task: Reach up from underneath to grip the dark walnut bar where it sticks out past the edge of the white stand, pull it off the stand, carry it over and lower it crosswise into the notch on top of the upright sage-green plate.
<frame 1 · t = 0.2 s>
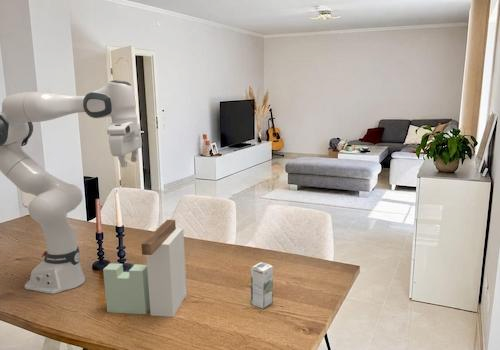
hand: (129, 164, 155), 49 cm above the table, tool pointing down, fingers open, 8 cm apart
walnut bar: (160, 240, 141), point 26 cm above the table, touching white stand
syrup box: (262, 304, 150), on the table
sage notched plate: (129, 309, 148), on the table
white stand: (169, 304, 151), on the table
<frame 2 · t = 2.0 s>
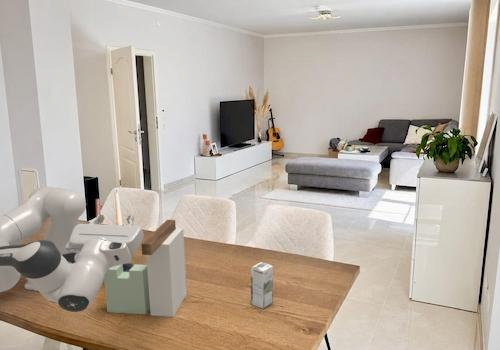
hand: (116, 216, 125), 39 cm above the table, tool pointing upward, fingers open, 8 cm apart
nothing on the table moved.
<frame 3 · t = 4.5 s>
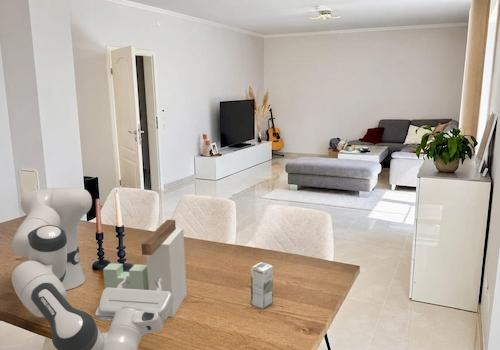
hand: (144, 277, 124), 22 cm above the table, tool pointing upward, fingers open, 8 cm apart
nothing on the table moved.
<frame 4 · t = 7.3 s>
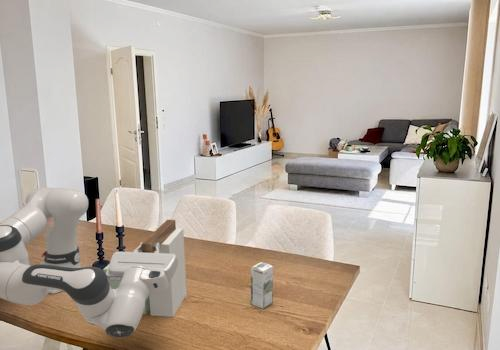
hand: (150, 243, 132), 28 cm above the table, tool pointing upward, fingers closed on walnut bar, 3 cm apart
walnut bar: (160, 240, 141), point 26 cm above the table, touching white stand, gripper
everything else where it was.
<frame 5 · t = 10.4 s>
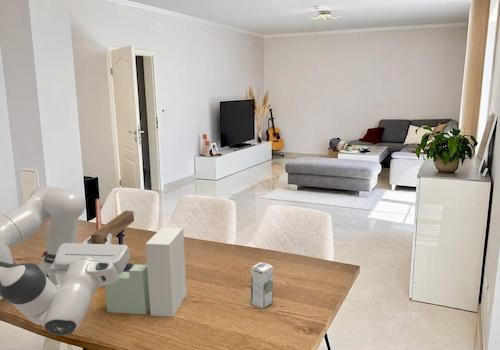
hand: (102, 234, 124), 34 cm above the table, tool pointing upward, fingers closed on walnut bar, 3 cm apart
walnut bar: (114, 232, 132), point 32 cm above the table, touching gripper
everything else where it was.
when the fingers open (19 cm above the table, at t = 13.8 s): walnut bar drops 4 cm, resting on sage notched plate.
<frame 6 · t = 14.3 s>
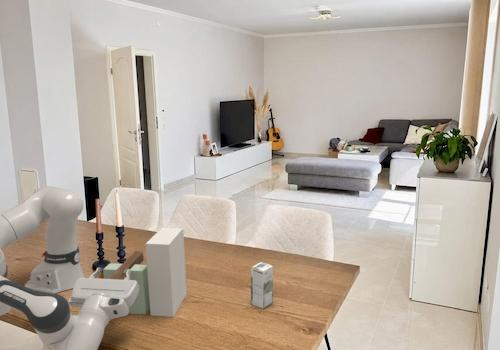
hand: (114, 269, 136), 19 cm above the table, tool pointing upward, fingers open, 8 cm apart
walnut bar: (126, 275, 145), point 13 cm above the table, touching sage notched plate
everything else where it was.
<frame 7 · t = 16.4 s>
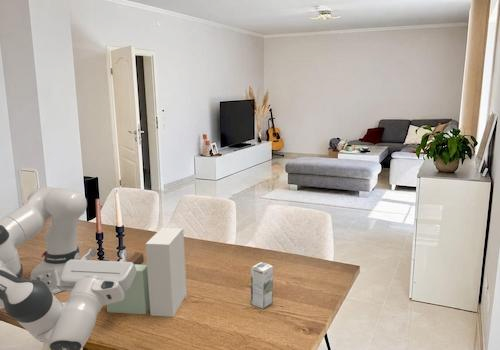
hand: (108, 250, 123), 30 cm above the table, tool pointing upward, fingers open, 8 cm apart
nothing on the table moved.
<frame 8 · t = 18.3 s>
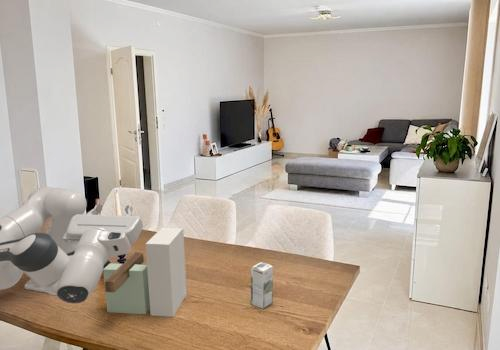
hand: (114, 206, 123), 42 cm above the table, tool pointing upward, fingers open, 8 cm apart
nothing on the table moved.
at the end: walnut bar inside the target area on the sage notched plate (0.2 cm from its centre), point 13.0 cm above the sage notched plate's base; the gripper is holding nothing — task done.
